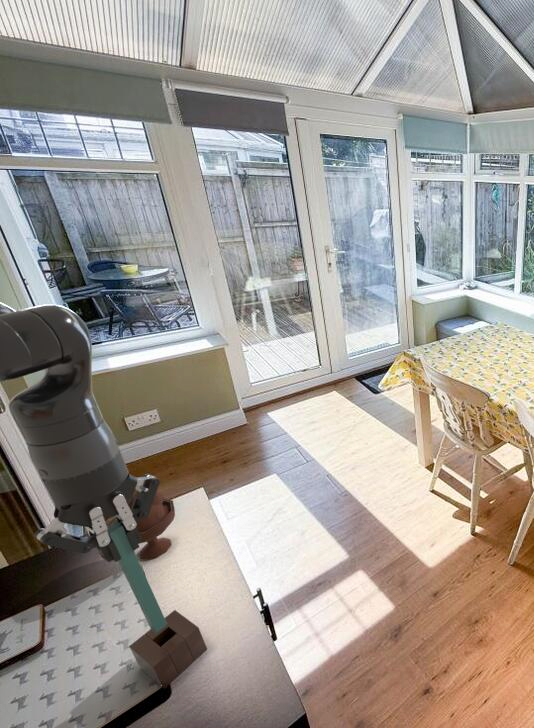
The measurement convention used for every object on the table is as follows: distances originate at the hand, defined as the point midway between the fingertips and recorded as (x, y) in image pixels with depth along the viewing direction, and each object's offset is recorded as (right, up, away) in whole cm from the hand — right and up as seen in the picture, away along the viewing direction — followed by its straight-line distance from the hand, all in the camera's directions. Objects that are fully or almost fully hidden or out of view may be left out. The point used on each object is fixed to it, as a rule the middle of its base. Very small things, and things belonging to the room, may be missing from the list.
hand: (124, 552), depth 60 cm
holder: (-1, -23, +10) cm, 26 cm away
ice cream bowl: (-21, -14, +30) cm, 39 cm away
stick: (-1, -16, +7) cm, 17 cm away
